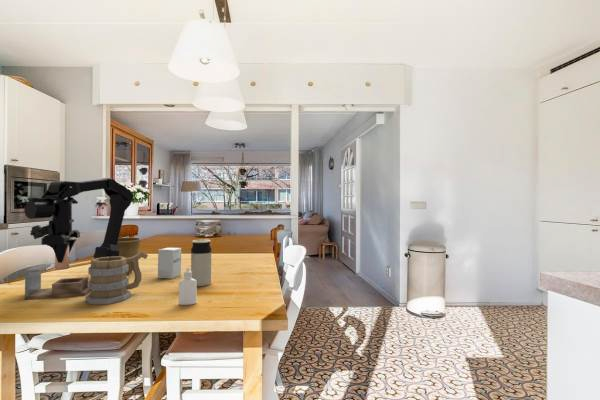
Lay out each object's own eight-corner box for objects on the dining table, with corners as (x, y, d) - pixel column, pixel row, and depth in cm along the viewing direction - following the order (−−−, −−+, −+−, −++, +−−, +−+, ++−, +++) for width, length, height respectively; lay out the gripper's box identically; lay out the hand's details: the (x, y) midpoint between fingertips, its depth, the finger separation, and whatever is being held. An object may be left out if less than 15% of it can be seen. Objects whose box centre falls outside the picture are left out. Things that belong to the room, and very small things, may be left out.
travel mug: (190, 287, 133) (190, 241, 133) (191, 282, 140) (191, 239, 140) (211, 286, 135) (211, 241, 135) (210, 281, 142) (211, 239, 142)
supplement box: (172, 279, 146) (172, 250, 146) (157, 278, 148) (157, 249, 148) (181, 275, 153) (181, 247, 153) (167, 274, 155) (167, 247, 155)
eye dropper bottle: (184, 300, 115) (184, 266, 115) (198, 302, 114) (199, 266, 114) (176, 304, 111) (176, 268, 111) (191, 306, 109) (191, 269, 109)
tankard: (94, 307, 108) (95, 260, 108) (81, 299, 116) (82, 255, 116) (155, 294, 123) (156, 253, 123) (140, 288, 131) (140, 249, 131)
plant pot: (108, 271, 160) (108, 237, 160) (142, 269, 165) (142, 237, 165) (100, 278, 146) (100, 241, 146) (137, 276, 151) (138, 240, 151)
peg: (70, 267, 120) (70, 244, 120) (67, 269, 116) (66, 246, 116) (57, 267, 119) (57, 245, 119) (53, 270, 115) (53, 247, 115)
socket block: (93, 288, 130) (93, 262, 130) (85, 295, 120) (85, 267, 120) (37, 291, 124) (37, 264, 124) (24, 299, 115) (25, 270, 115)
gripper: (45, 215, 124) (45, 257, 124) (21, 219, 106) (22, 268, 106) (80, 215, 127) (80, 256, 127) (63, 218, 109) (63, 266, 110)
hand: (62, 261), depth 118 cm, fingers closed on peg, 4 cm apart
